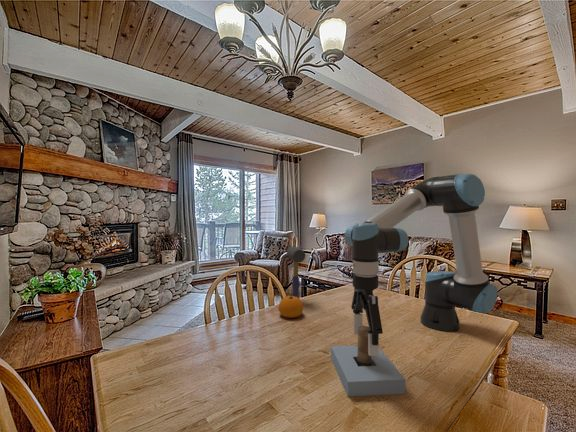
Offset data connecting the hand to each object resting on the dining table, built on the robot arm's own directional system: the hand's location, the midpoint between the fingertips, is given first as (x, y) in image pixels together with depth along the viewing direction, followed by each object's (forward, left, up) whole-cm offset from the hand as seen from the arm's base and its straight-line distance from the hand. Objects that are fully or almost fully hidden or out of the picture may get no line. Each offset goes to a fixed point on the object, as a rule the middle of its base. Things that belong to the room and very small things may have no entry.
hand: (365, 343), depth 88 cm
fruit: (+18, -50, -10) cm, 54 cm away
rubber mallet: (+14, -67, -10) cm, 69 cm away
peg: (0, 0, -9) cm, 9 cm away
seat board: (0, 0, -9) cm, 9 cm away
